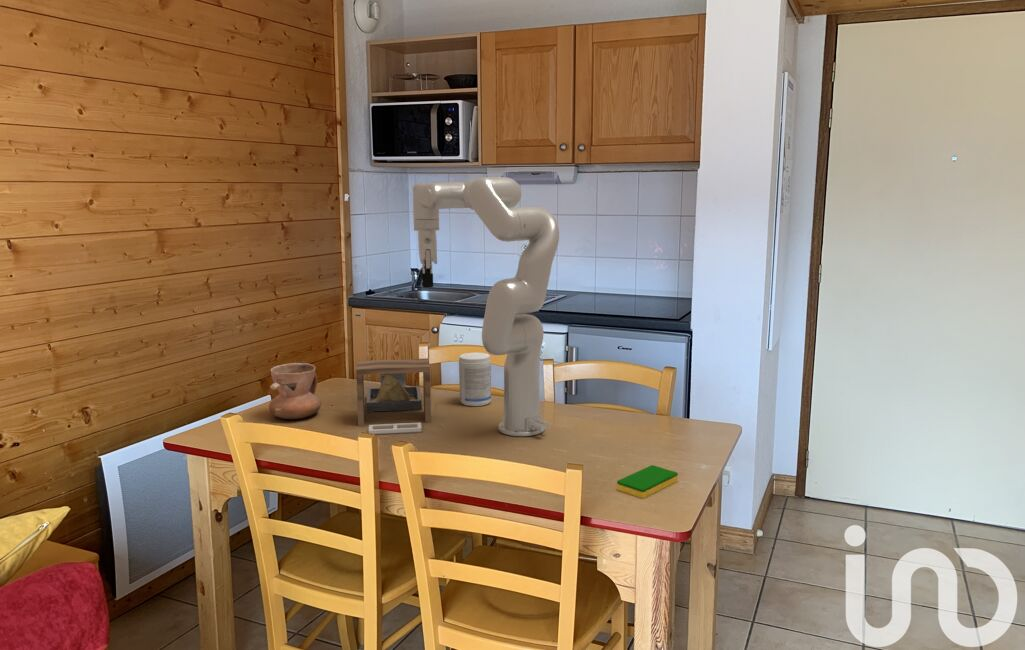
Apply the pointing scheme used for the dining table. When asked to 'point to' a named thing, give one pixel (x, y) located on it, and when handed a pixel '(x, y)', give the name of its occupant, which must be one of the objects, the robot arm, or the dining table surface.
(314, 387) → the ceramic jug
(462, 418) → the dining table surface
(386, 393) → the rock
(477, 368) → the supplement tub
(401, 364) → the tunnel
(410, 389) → the slider
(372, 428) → the plate
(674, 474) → the dish sponge
